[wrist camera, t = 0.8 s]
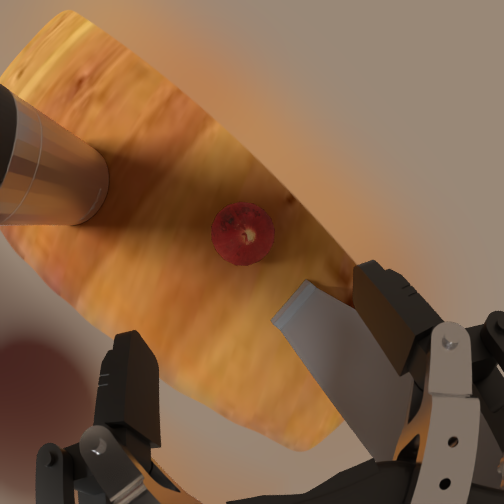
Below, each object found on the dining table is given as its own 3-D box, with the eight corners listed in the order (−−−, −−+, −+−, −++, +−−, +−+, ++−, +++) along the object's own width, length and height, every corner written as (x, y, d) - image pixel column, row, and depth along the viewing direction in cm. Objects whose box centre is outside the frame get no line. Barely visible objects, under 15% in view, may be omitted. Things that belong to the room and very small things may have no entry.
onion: (199, 230, 29) (195, 231, 21) (241, 194, 30) (252, 182, 22) (236, 271, 30) (245, 287, 22) (276, 235, 30) (299, 238, 23)
